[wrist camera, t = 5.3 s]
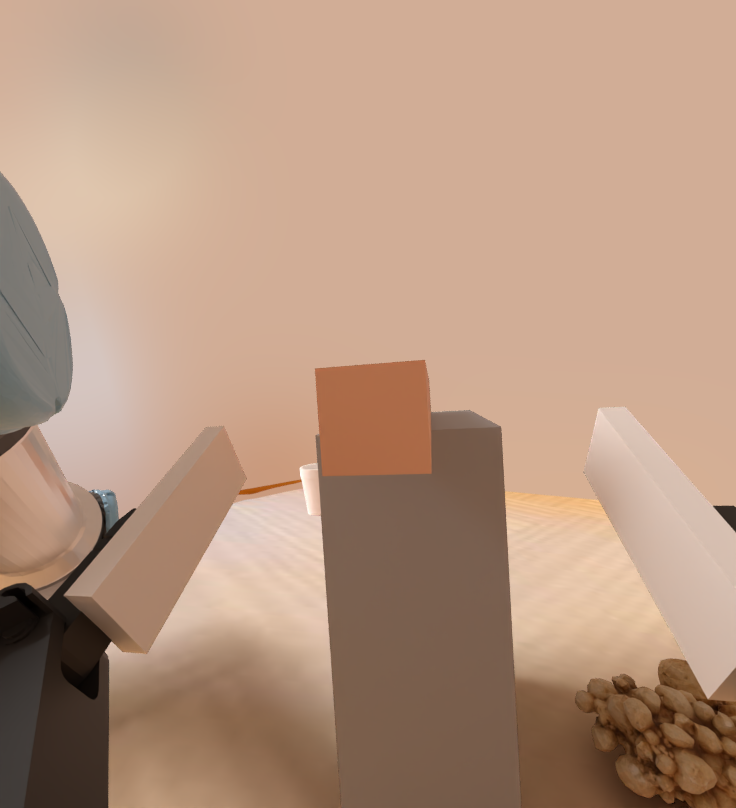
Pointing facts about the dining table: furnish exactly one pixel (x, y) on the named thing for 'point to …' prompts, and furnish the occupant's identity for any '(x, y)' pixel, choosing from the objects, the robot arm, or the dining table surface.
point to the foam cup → (311, 488)
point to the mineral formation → (667, 736)
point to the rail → (374, 419)
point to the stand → (423, 627)
